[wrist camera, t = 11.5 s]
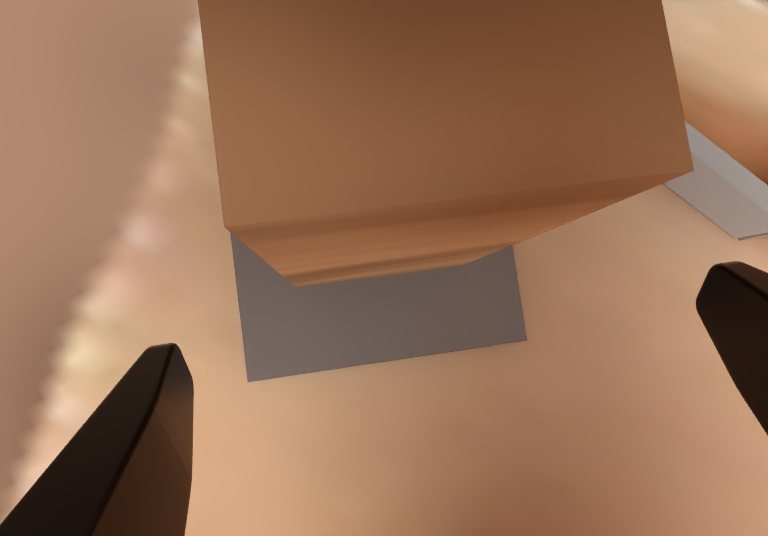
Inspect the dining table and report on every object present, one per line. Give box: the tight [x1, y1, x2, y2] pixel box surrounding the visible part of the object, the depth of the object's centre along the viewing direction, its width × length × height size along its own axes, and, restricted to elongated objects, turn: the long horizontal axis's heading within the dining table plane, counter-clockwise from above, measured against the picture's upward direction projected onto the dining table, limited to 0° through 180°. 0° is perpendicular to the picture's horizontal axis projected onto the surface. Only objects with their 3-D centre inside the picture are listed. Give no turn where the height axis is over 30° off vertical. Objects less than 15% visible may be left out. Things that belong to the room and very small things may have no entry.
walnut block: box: [198, 0, 694, 288], centre depth 13 cm, size 6×6×12 cm
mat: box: [231, 233, 527, 382], centre depth 19 cm, size 12×10×1 cm
